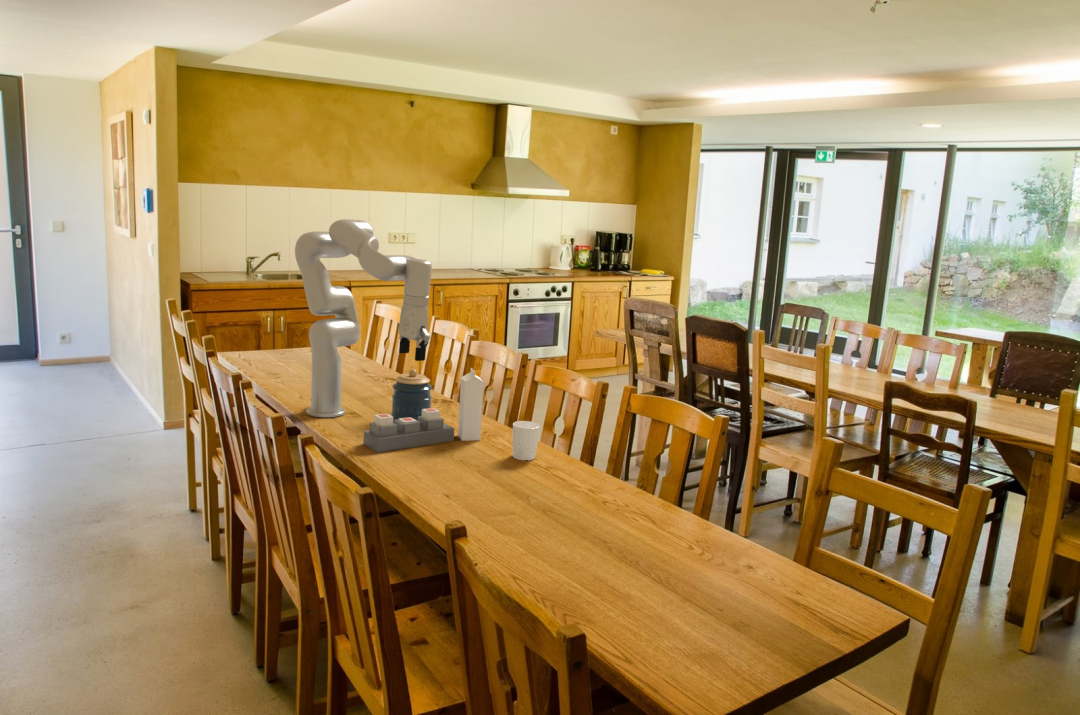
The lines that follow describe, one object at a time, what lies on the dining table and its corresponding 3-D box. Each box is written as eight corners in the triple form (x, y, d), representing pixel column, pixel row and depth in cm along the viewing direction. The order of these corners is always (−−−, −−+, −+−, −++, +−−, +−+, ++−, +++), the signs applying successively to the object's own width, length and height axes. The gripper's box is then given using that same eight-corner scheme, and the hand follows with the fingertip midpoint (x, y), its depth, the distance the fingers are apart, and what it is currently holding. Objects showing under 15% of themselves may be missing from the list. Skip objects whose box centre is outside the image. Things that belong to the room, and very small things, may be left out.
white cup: (540, 455, 229) (542, 423, 227) (532, 463, 221) (535, 429, 219) (515, 451, 231) (517, 419, 229) (507, 458, 223) (509, 426, 221)
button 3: (421, 418, 235) (421, 408, 235) (432, 417, 238) (433, 407, 237) (428, 422, 232) (428, 411, 232) (439, 420, 235) (439, 410, 234)
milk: (476, 435, 244) (480, 367, 240) (480, 440, 239) (485, 371, 235) (457, 435, 243) (461, 367, 239) (461, 440, 237) (465, 371, 233)
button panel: (363, 443, 227) (364, 421, 226) (438, 432, 243) (439, 412, 242) (377, 452, 220) (378, 429, 219) (453, 440, 237) (454, 419, 235)
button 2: (398, 428, 230) (398, 418, 230) (409, 426, 233) (410, 416, 232) (404, 431, 227) (405, 421, 227) (416, 430, 230) (416, 420, 229)
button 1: (374, 424, 225) (374, 414, 224) (386, 423, 228) (386, 413, 227) (380, 428, 222) (381, 417, 221) (392, 426, 225) (393, 416, 224)
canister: (403, 428, 245) (405, 374, 242) (383, 418, 255) (385, 366, 252) (437, 423, 254) (440, 371, 250) (417, 414, 263) (420, 363, 260)
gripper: (391, 295, 232) (387, 350, 236) (419, 306, 219) (414, 364, 223) (413, 296, 237) (409, 349, 241) (442, 306, 224) (437, 362, 228)
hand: (411, 356), depth 232 cm, fingers open, 9 cm apart
